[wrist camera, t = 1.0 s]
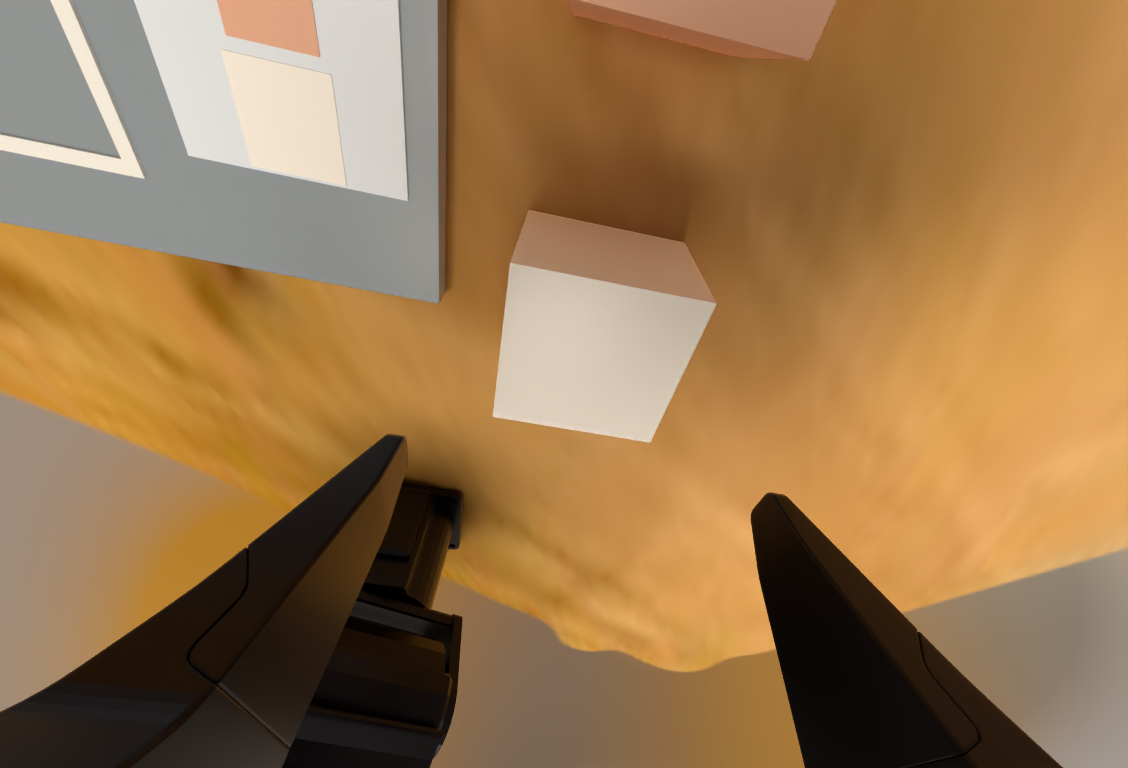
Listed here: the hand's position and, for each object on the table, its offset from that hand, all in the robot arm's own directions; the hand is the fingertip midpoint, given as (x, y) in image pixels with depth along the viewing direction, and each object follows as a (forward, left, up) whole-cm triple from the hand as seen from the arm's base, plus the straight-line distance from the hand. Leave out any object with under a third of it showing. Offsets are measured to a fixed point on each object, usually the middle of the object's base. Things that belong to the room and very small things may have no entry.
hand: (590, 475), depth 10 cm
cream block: (0, 0, -9) cm, 9 cm away
